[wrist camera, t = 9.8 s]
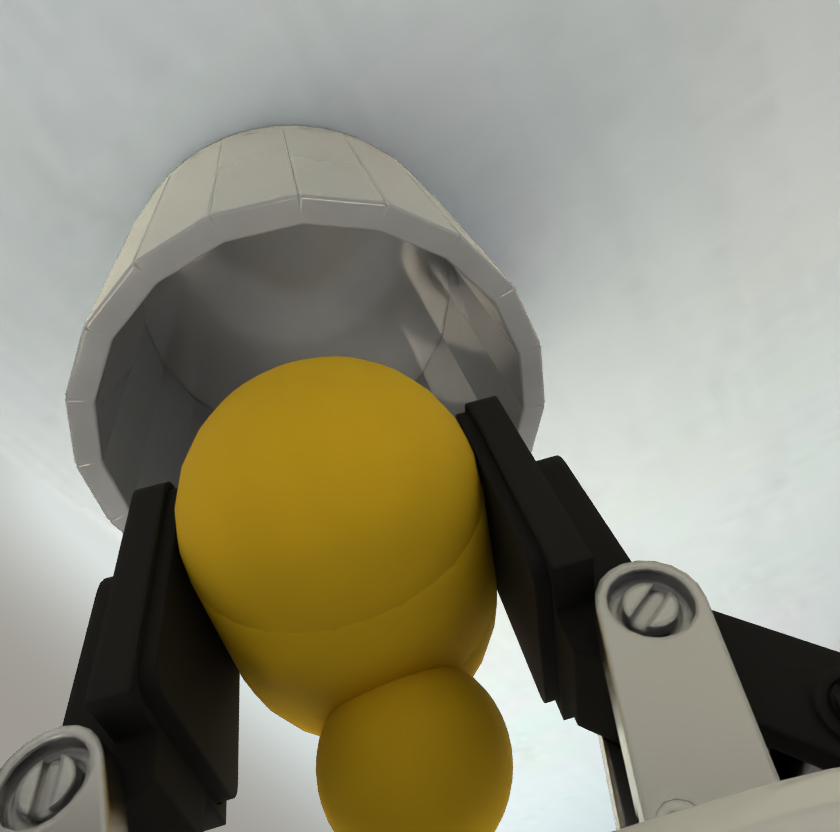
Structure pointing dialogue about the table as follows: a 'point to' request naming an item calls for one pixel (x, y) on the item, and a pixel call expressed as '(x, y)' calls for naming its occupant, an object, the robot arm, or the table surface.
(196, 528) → the duck
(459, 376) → the cup
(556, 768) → the table surface
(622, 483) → the table surface
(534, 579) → the robot arm
